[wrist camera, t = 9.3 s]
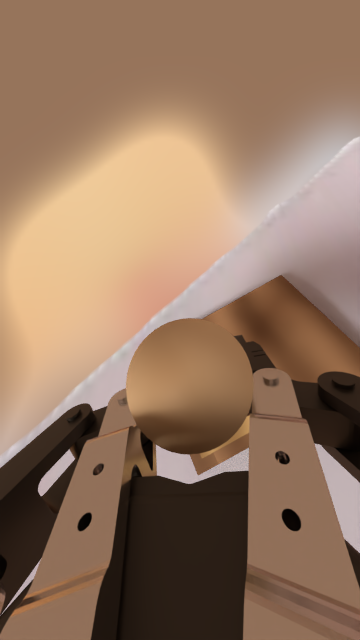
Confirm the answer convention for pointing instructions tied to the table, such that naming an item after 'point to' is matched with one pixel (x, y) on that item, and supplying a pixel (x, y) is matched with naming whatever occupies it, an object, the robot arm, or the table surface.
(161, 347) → the pin
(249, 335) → the pin board
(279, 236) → the table surface
